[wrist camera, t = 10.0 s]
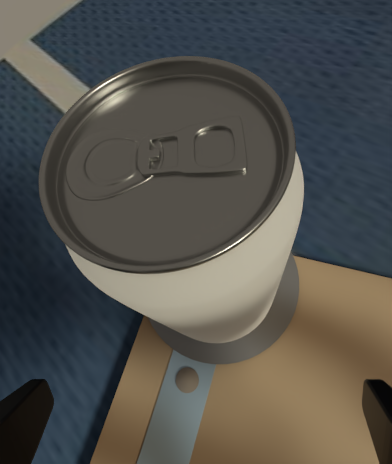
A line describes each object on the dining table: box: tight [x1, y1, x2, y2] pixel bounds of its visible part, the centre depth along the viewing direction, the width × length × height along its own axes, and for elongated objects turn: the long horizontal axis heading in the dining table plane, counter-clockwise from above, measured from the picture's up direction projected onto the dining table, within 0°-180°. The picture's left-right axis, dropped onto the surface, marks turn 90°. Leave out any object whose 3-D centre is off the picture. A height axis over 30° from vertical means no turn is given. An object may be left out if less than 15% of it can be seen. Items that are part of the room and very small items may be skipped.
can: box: [39, 56, 304, 343], centre depth 12 cm, size 6×6×12 cm
